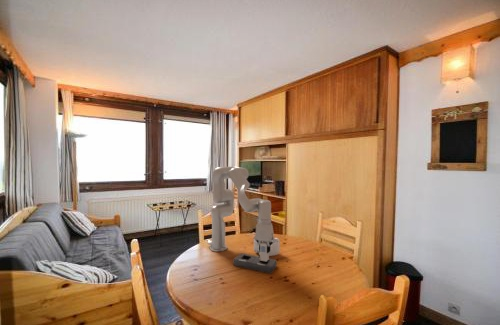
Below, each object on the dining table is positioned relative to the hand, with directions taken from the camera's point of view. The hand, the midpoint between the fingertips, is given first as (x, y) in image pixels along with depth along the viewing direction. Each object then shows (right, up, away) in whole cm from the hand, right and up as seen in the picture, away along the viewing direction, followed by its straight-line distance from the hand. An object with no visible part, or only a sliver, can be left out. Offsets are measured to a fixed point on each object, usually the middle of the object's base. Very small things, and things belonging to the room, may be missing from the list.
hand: (264, 251), depth 138 cm
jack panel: (-6, -10, +3) cm, 12 cm away
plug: (0, -5, 0) cm, 5 cm away
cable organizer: (+3, -10, +21) cm, 23 cm away
